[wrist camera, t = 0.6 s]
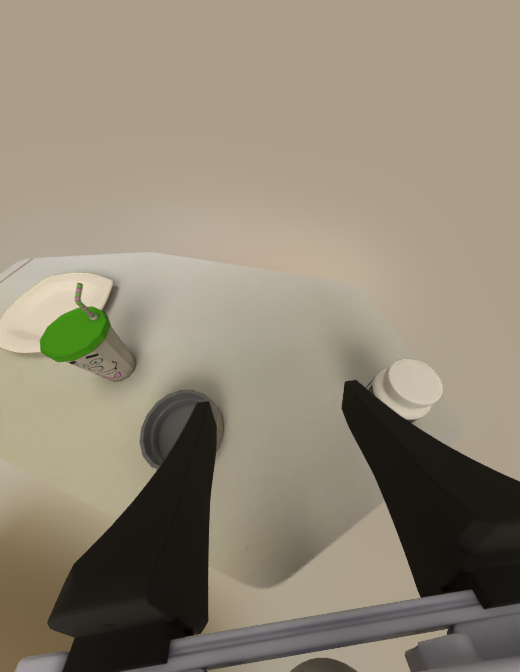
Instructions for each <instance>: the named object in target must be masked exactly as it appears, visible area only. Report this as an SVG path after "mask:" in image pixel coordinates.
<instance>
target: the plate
mask: <svg viewBox="0 0 520 672" xmlns="http://www.w3.org/2000/svg"><path fill="white" fill-rule="evenodd" d="M77 283H82V284H83V288H82V293H81V302H82V303H83V304H84V305H85V306H86V307H92V306H93V307H95V308H97V309H100V310H102V309H103V307H104V306H105V304H106V302H107V299H108V297H109V295H110V292H111V289H112V286H113V283H114V281H112V280H110V279H107V278H105V277H102V276H99V275H95V274H90V273H69V274H61V275H55V276H49V277H46V278H45V279H43V280H42V281H41V282H39V283H38V284H36V285H35V286H34V287H32V288H31V289H30V290H28V291H27V292H26V293H25V294H24V295H22V296H21V297H20V298H19V299H18V300H16V301H15V302H14V303H13V304H12V305H11V306H10V308H9V309H8V310H7V311H6V312H5V314H4V315H3V316H2V317H1V319H0V347H1V348H4V349H6V350H9V351H13V352H18V353H34V352H41V350H40V339H41V337H42V335H43V334H44V332H45V330H46V328H47V327H48V326H49V325H50V324H51V323H52V322H54V321H55V320H56V319H57V318H58V317H60V316H61V315H63V314H65V313H67V312H69V311H72V310H74V309H76V308H80V307H79V306H78V305H77V304H76V303H75V300H74V299H75V293H76V287H77Z"/></svg>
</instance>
